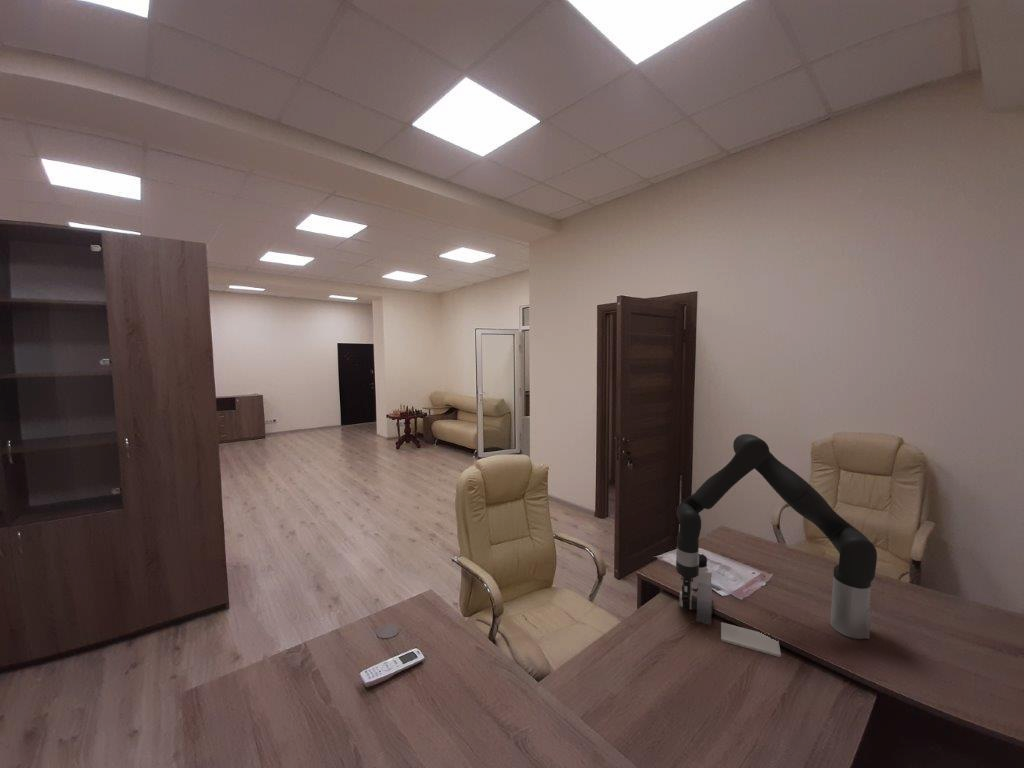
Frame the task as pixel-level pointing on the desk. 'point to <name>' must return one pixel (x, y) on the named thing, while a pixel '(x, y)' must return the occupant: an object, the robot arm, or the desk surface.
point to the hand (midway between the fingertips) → (686, 602)
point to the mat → (749, 639)
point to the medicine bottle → (702, 572)
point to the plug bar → (692, 602)
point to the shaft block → (704, 603)
